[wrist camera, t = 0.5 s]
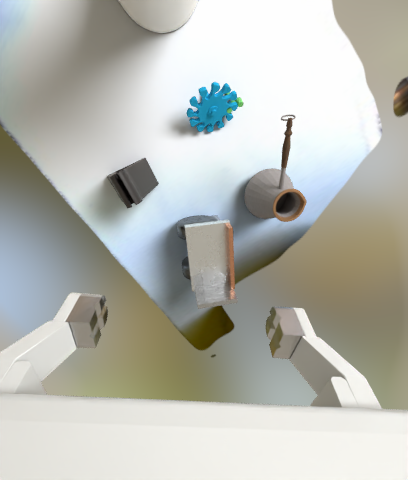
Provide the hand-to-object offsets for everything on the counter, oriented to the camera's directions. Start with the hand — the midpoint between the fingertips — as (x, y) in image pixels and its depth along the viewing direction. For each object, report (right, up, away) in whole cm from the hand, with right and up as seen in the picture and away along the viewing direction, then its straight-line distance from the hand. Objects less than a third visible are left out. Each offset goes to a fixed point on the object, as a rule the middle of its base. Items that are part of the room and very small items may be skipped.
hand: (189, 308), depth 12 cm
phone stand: (-15, +17, +40) cm, 46 cm away
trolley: (+1, +4, +48) cm, 48 cm away
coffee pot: (+14, +19, +44) cm, 50 cm away
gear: (+2, +30, +37) cm, 48 cm away
